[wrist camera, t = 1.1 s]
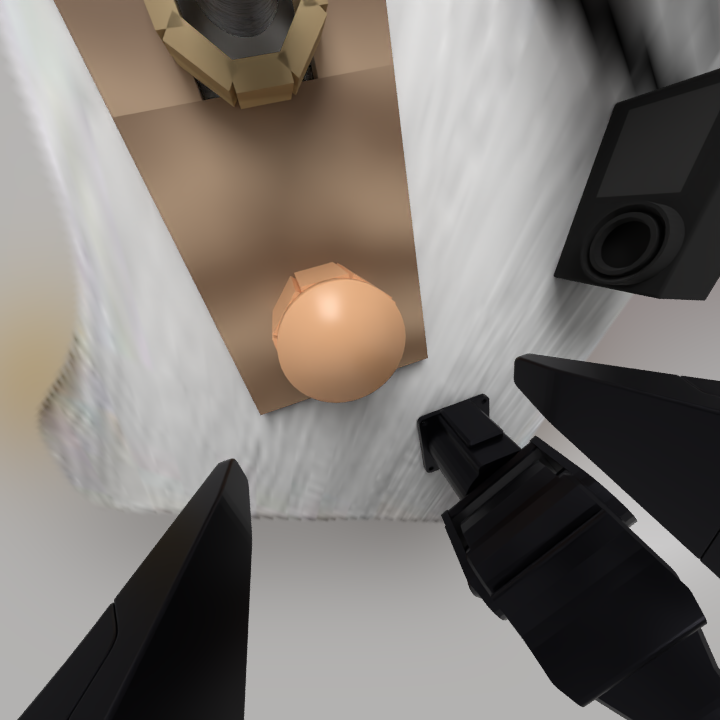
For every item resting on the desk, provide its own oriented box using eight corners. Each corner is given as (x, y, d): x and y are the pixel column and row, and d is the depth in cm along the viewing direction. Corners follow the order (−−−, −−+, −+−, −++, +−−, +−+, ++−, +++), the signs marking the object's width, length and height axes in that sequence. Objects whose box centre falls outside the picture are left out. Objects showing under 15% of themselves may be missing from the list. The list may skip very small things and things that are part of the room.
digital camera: (600, 95, 17) (780, 28, 11) (662, 114, 19) (850, 64, 13) (539, 276, 21) (644, 299, 15) (593, 279, 23) (708, 301, 17)
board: (421, 352, 21) (440, 369, 19) (261, 406, 20) (259, 432, 17) (361, -114, 11) (386, -204, 9) (23, -81, 10) (-60, -181, 7)
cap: (383, 346, 19) (413, 379, 15) (295, 375, 18) (302, 418, 14) (364, 252, 16) (395, 264, 12) (259, 282, 15) (255, 304, 11)
